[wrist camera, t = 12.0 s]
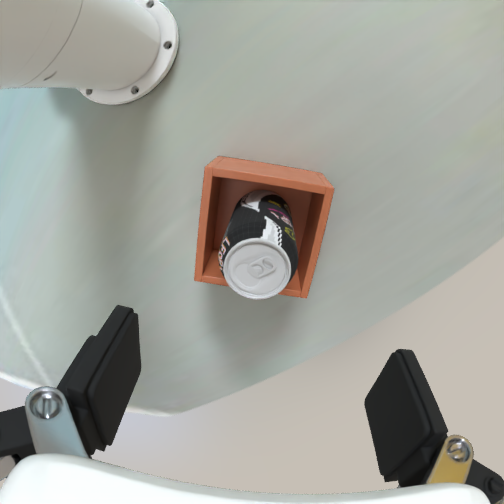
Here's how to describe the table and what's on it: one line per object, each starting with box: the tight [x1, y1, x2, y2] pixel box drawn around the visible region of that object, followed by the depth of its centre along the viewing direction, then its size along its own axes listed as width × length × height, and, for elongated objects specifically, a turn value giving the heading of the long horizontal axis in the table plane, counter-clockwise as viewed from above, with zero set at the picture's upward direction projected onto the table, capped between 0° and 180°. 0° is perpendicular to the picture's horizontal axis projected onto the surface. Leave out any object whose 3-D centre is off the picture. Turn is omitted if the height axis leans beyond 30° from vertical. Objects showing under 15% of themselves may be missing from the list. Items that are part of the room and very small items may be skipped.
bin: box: [194, 156, 334, 298], centre depth 30 cm, size 10×10×7 cm
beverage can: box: [218, 190, 298, 300], centre depth 27 cm, size 6×6×12 cm
